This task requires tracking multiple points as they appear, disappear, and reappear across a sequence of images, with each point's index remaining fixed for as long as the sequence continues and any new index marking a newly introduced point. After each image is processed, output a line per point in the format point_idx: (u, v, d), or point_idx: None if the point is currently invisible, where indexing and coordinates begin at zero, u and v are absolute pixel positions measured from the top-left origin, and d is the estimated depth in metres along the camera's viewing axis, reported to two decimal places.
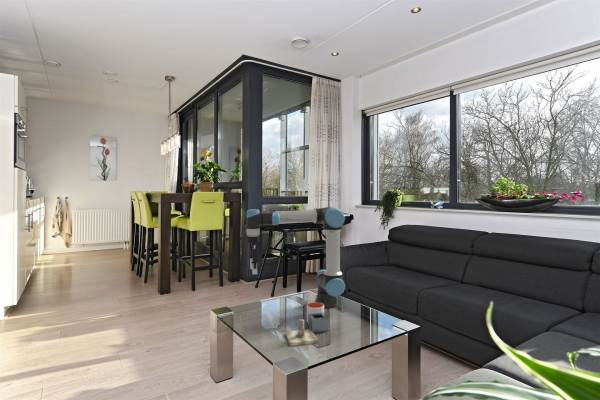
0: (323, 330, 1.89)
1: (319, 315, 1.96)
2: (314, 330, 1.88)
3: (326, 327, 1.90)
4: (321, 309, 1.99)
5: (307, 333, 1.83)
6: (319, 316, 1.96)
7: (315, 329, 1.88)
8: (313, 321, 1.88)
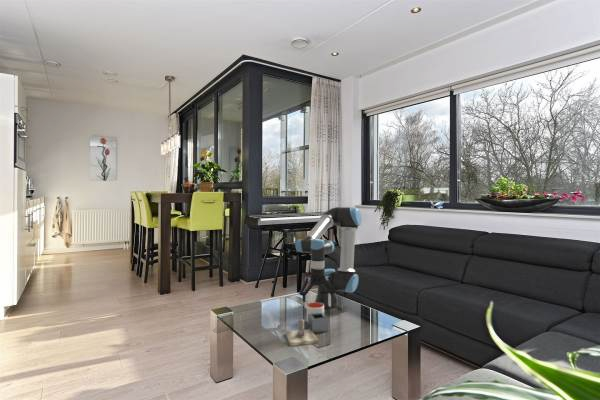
0: (323, 330, 1.89)
1: (319, 315, 1.96)
2: (314, 330, 1.88)
3: (326, 327, 1.90)
4: (321, 309, 1.99)
5: (307, 333, 1.83)
6: (319, 316, 1.96)
7: (315, 329, 1.88)
8: (313, 321, 1.88)
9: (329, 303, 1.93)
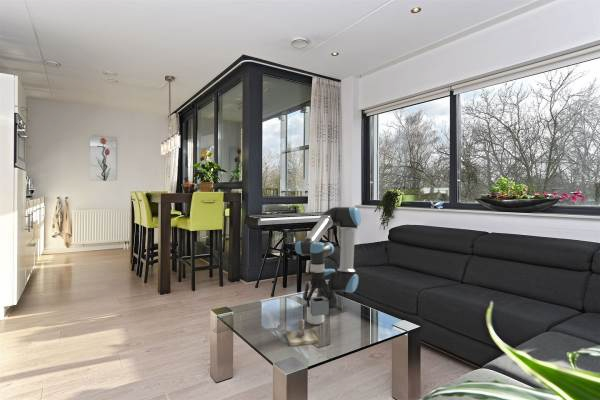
0: (323, 313, 1.89)
1: (319, 299, 1.96)
2: (314, 313, 1.88)
3: (326, 310, 1.90)
4: None
5: (307, 333, 1.83)
6: (319, 300, 1.96)
7: (315, 312, 1.88)
8: (313, 304, 1.88)
9: None
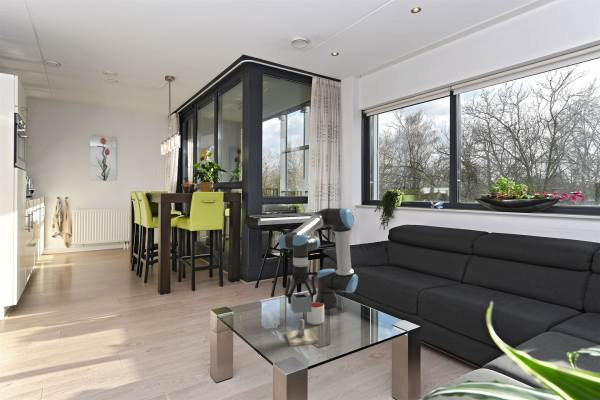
0: (306, 310, 1.76)
1: (302, 295, 1.83)
2: (296, 310, 1.75)
3: (309, 307, 1.76)
4: (321, 309, 1.99)
5: (307, 333, 1.83)
6: (302, 296, 1.83)
7: (297, 309, 1.75)
8: (295, 300, 1.75)
9: None
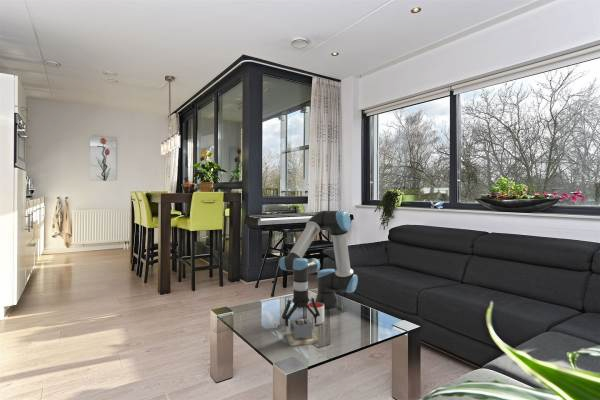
0: (306, 337, 1.77)
1: None
2: (296, 337, 1.75)
3: (309, 334, 1.77)
4: (321, 309, 1.99)
5: None
6: None
7: (297, 336, 1.76)
8: (295, 328, 1.75)
9: (312, 327, 1.81)
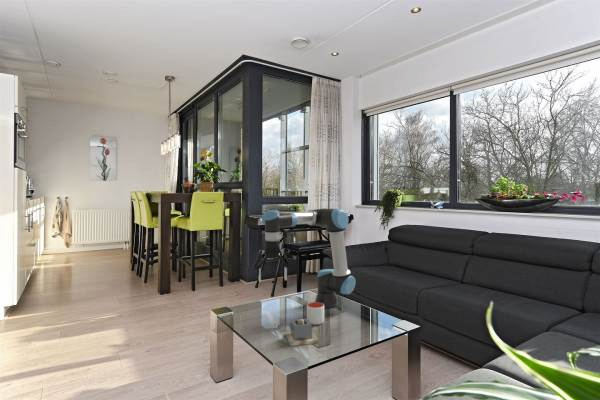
0: (306, 337, 1.77)
1: None
2: (296, 337, 1.75)
3: (309, 334, 1.77)
4: (321, 309, 1.99)
5: None
6: None
7: (297, 336, 1.76)
8: (295, 328, 1.75)
9: (285, 277, 1.85)
